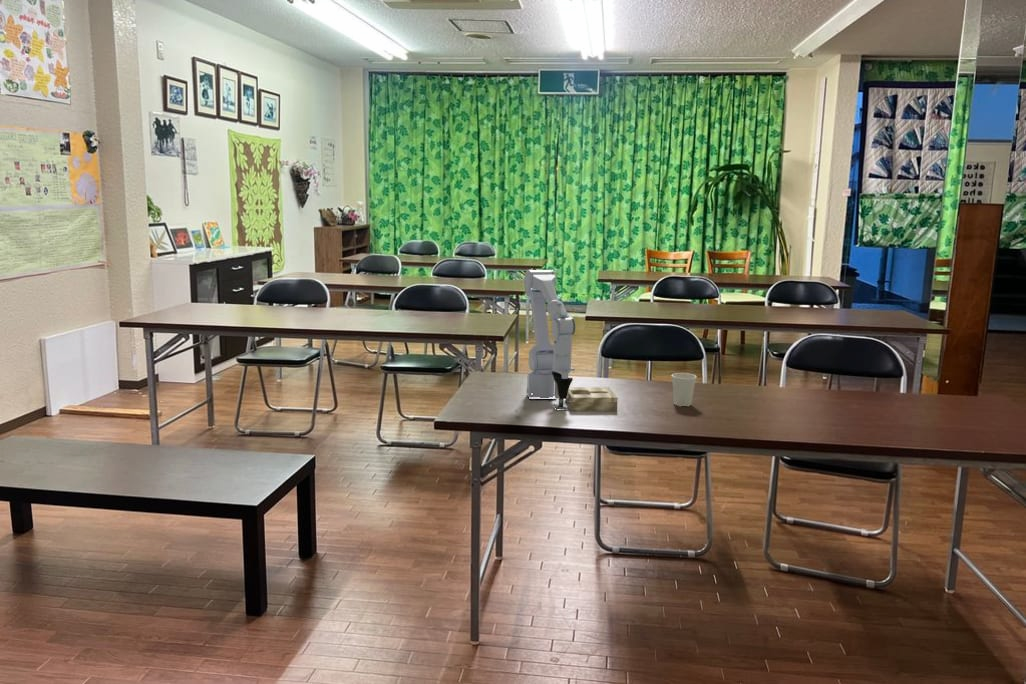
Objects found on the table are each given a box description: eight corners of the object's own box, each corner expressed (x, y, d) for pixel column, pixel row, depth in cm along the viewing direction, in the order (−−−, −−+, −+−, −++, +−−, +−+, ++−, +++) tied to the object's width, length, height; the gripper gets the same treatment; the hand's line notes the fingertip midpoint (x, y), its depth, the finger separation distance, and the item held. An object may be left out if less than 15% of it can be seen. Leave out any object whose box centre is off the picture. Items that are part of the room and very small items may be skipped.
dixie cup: (697, 407, 257) (699, 378, 256) (672, 407, 258) (673, 378, 256) (692, 401, 266) (694, 373, 264) (667, 401, 266) (669, 372, 264)
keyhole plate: (571, 411, 251) (571, 397, 250) (565, 400, 264) (565, 387, 264) (617, 410, 252) (617, 397, 251) (608, 400, 266) (609, 387, 265)
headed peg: (555, 410, 251) (556, 383, 250) (554, 407, 255) (554, 380, 254) (567, 410, 252) (568, 383, 250) (566, 407, 256) (566, 380, 254)
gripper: (578, 359, 243) (576, 401, 246) (571, 350, 258) (570, 390, 260) (555, 359, 243) (554, 401, 245) (550, 350, 257) (549, 390, 260)
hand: (561, 395), depth 253 cm, fingers open, 7 cm apart
